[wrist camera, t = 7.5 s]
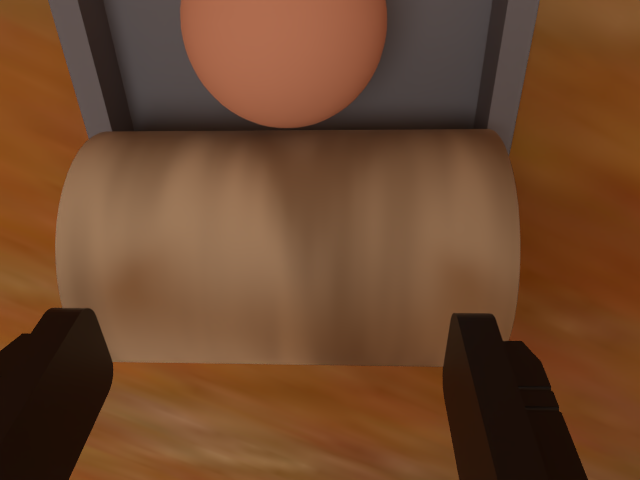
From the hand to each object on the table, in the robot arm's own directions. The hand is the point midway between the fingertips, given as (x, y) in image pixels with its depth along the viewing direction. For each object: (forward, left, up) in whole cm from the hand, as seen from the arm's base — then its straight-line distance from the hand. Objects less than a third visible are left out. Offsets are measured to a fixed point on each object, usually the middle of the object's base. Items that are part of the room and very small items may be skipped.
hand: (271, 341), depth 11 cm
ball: (0, -4, -3) cm, 5 cm away
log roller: (0, +2, -10) cm, 10 cm away
